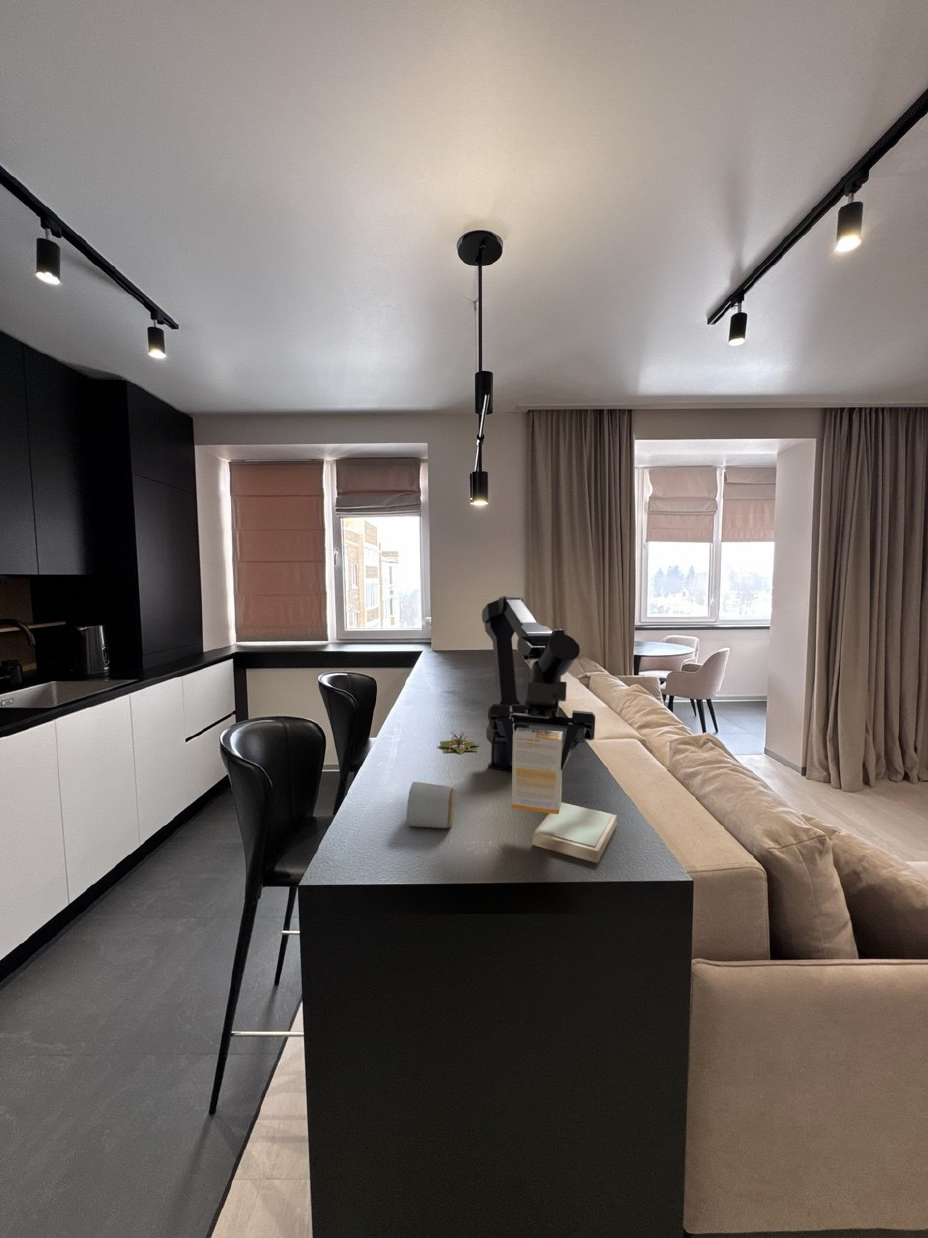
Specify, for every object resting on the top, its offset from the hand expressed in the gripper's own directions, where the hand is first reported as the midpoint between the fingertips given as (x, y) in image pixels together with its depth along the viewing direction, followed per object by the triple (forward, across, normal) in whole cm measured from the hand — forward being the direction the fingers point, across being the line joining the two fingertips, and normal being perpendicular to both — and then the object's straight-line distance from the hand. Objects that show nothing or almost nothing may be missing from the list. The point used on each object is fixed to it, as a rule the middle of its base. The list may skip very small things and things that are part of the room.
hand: (536, 766), depth 87 cm
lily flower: (-20, -25, +40) cm, 51 cm away
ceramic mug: (+8, -19, +11) cm, 24 cm away
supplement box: (+5, 0, +6) cm, 8 cm away
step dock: (+7, +7, +12) cm, 16 cm away
